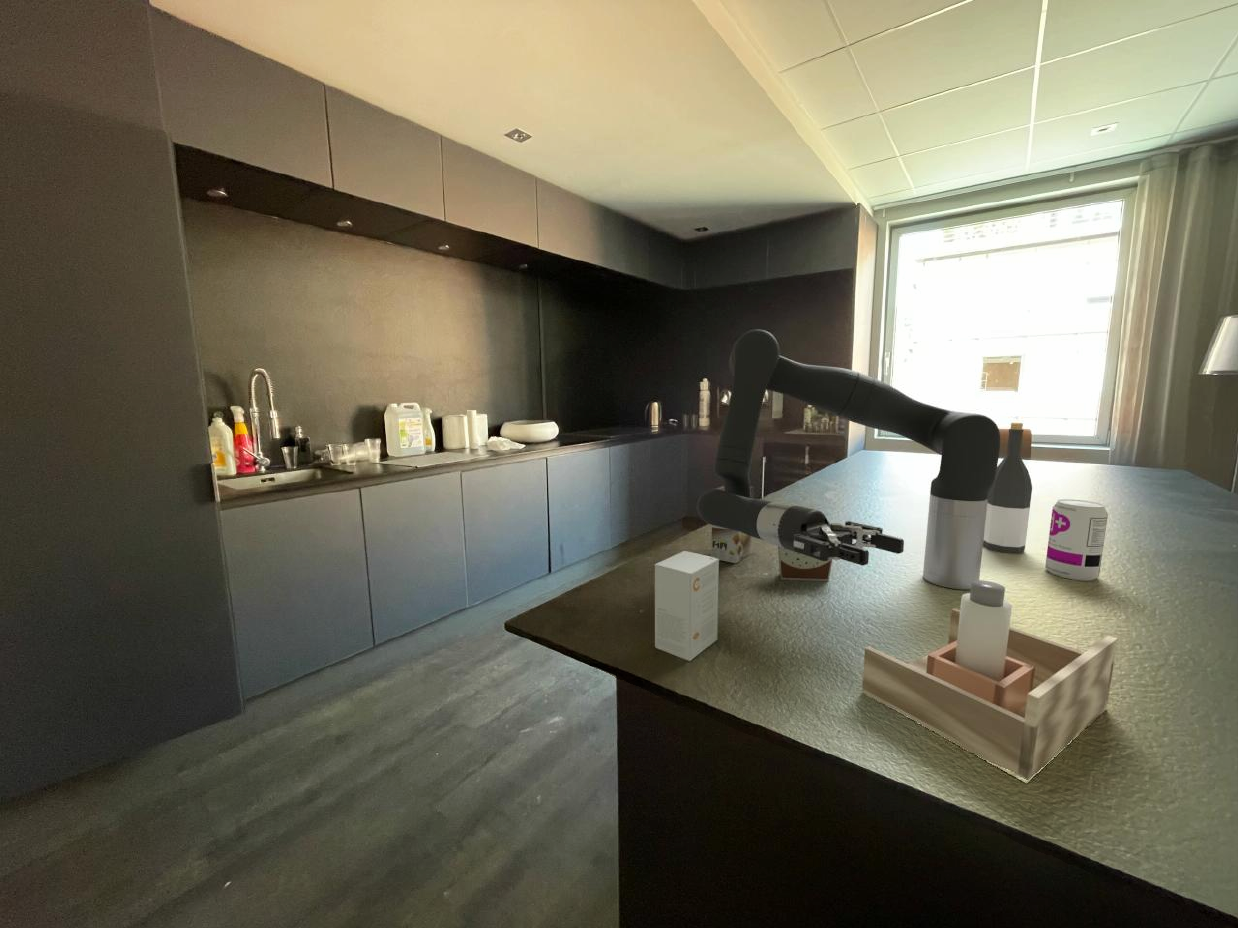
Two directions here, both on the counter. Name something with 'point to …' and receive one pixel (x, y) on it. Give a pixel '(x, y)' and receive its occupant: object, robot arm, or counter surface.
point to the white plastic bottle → (983, 629)
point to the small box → (686, 604)
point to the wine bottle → (1009, 500)
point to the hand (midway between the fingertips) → (885, 552)
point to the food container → (802, 566)
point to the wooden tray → (999, 696)
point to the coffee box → (730, 541)
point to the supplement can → (1076, 539)
